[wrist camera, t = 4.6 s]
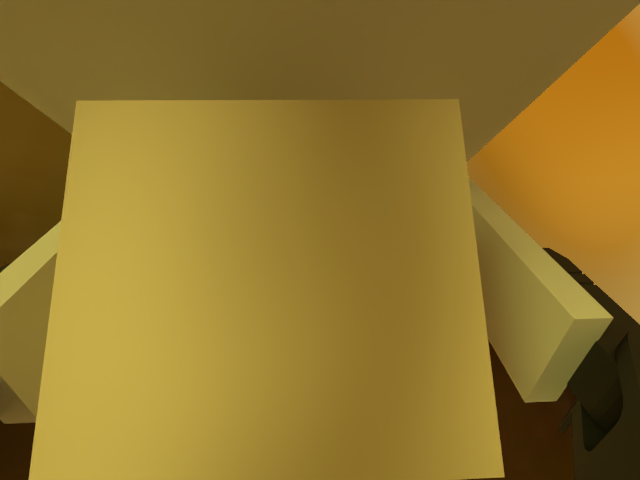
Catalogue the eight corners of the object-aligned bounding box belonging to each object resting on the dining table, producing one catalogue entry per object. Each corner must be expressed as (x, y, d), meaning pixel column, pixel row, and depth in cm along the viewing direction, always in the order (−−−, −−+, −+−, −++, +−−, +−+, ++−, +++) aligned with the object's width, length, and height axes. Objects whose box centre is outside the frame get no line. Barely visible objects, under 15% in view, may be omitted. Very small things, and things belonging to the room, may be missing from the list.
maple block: (238, 355, 16) (25, 501, 4) (240, 248, 17) (76, 100, 5) (358, 351, 16) (505, 477, 4) (352, 245, 17) (458, 99, 5)
